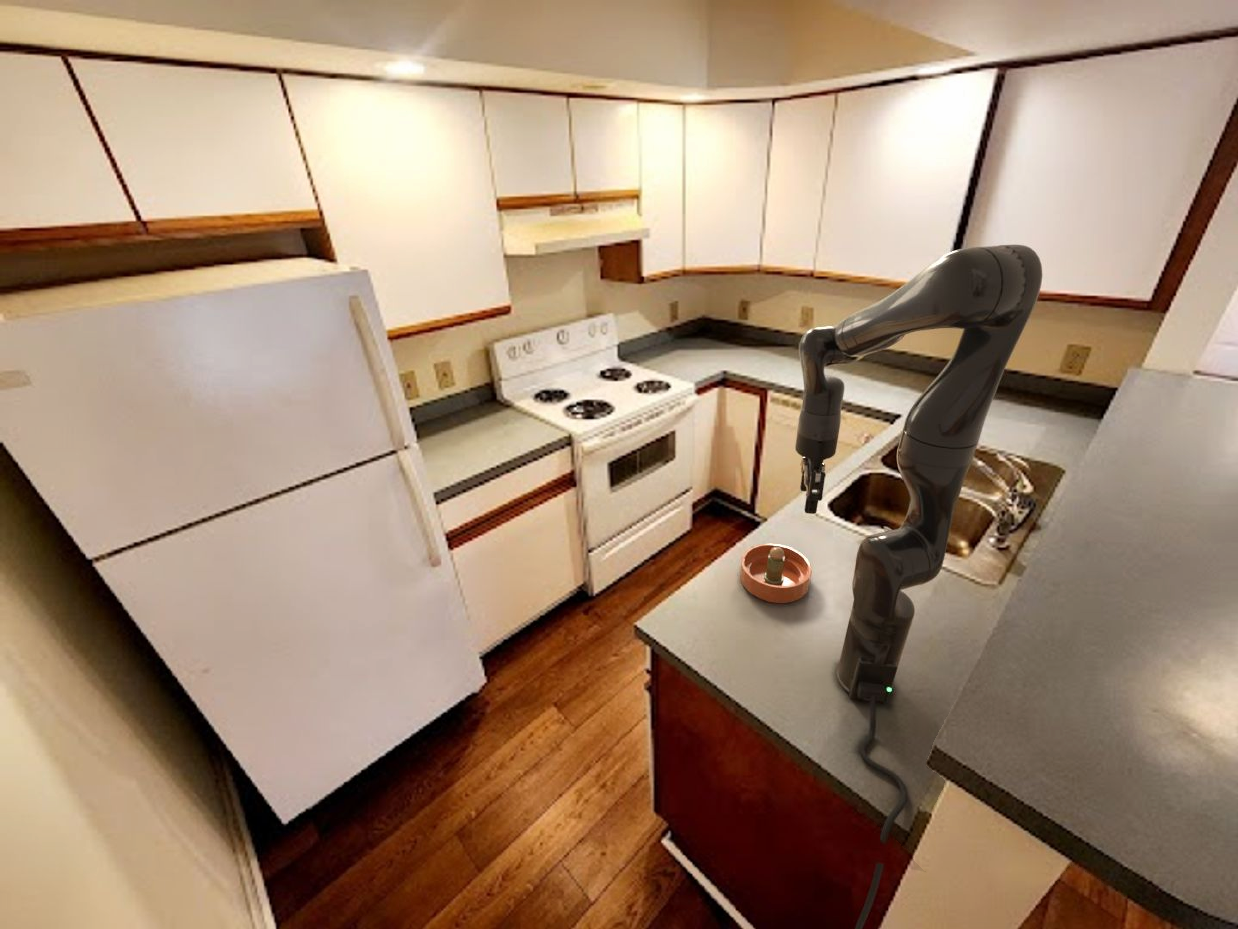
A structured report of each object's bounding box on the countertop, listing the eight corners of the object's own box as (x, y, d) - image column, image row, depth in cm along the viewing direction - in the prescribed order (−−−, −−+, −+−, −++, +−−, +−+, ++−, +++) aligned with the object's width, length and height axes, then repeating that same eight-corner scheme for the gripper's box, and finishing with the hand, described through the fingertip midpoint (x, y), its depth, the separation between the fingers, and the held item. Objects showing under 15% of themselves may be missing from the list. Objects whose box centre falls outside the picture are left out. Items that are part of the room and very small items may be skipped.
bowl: (811, 608, 115) (814, 591, 113) (739, 600, 118) (741, 583, 116) (805, 563, 128) (807, 547, 125) (740, 557, 131) (741, 541, 128)
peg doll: (784, 586, 120) (788, 555, 116) (764, 584, 121) (767, 553, 117) (783, 573, 124) (787, 543, 120) (763, 571, 125) (767, 541, 121)
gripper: (794, 414, 109) (786, 482, 117) (801, 445, 97) (791, 519, 105) (832, 416, 108) (822, 484, 115) (845, 447, 95) (832, 522, 103)
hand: (807, 501), depth 110 cm, fingers open, 8 cm apart
